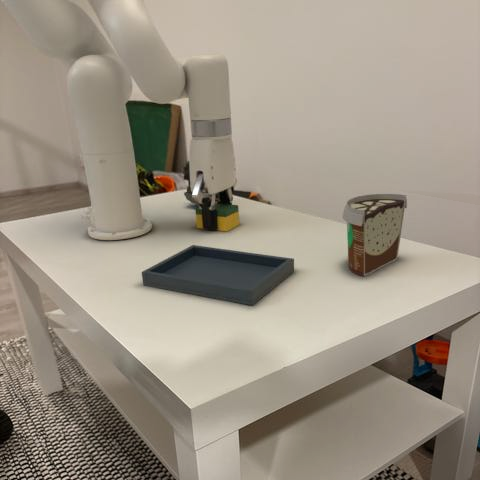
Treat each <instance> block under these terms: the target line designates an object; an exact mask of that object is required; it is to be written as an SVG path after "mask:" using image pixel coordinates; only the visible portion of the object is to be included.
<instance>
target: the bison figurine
mask: <svg viewBox="0 0 480 480" xmlns="http://www.w3.org/2000/svg"><path fill="white" fill-rule="evenodd" d="M182 168H183V171H182V174H183V180H184V181H187V184H188V186H187V188H186V191H185V192H183V195H184V197H185V199H186V200H187V201H189V202H190V203H191V204H194V205H196V206H197V207H199V205H198V203H197V202H196V201H195V200H194V199H193V198H192V193H193V192H192V191H191V186H190V167H189V160H185V163H184V165H183V167H182ZM222 192H223V191H222ZM205 193H208V190H205ZM206 198H207V200H208V201H209V199H210V196H206ZM218 201H219V199H218V194H217V193H216V194H215V203H217V202H218Z"/></svg>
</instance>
